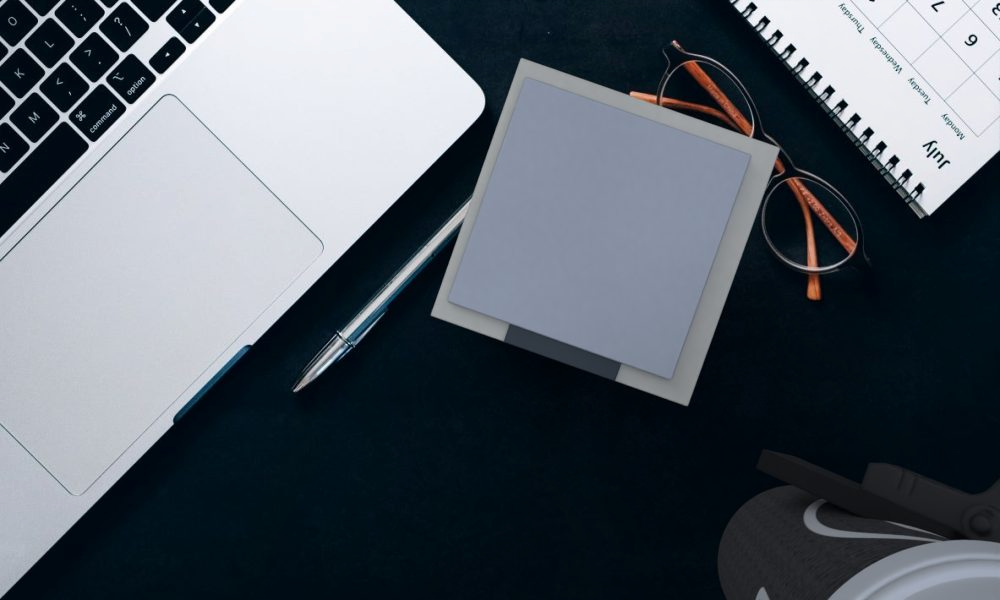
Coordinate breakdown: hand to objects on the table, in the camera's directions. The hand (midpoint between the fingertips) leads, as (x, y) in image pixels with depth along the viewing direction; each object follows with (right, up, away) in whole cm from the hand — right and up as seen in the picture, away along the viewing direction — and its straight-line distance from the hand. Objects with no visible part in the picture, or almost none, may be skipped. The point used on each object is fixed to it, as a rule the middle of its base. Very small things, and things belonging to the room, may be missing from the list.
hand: (738, 564), depth 30 cm
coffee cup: (+3, -1, +4) cm, 5 cm away
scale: (-4, +13, +14) cm, 19 cm away
